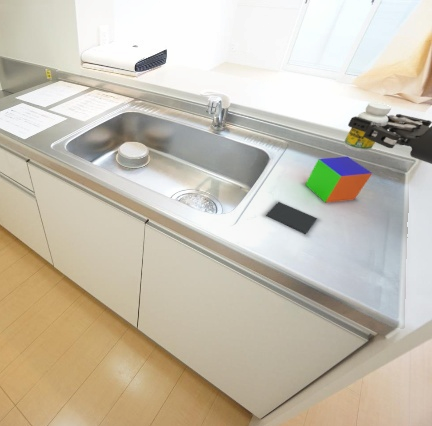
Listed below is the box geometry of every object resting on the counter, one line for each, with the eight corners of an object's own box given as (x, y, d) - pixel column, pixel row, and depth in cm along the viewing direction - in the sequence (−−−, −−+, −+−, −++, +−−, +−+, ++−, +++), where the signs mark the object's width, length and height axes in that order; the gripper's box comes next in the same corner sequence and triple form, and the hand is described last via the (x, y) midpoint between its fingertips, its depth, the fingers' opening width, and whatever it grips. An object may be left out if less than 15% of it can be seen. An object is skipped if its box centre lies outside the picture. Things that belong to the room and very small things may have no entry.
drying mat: (316, 219, 67) (317, 218, 66) (305, 234, 63) (306, 233, 63) (278, 202, 72) (278, 201, 71) (265, 215, 68) (266, 214, 68)
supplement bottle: (376, 150, 64) (403, 108, 58) (356, 153, 63) (381, 111, 57) (355, 140, 68) (379, 99, 62) (337, 142, 68) (358, 102, 61)
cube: (332, 181, 78) (347, 156, 73) (354, 199, 72) (372, 173, 67) (305, 184, 77) (318, 159, 72) (325, 202, 71) (341, 176, 66)
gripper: (488, 120, 52) (385, 95, 64) (452, 138, 47) (348, 108, 59) (457, 155, 57) (366, 126, 69) (422, 175, 52) (331, 141, 64)
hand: (358, 118), depth 64 cm, fingers closed on supplement bottle, 5 cm apart
